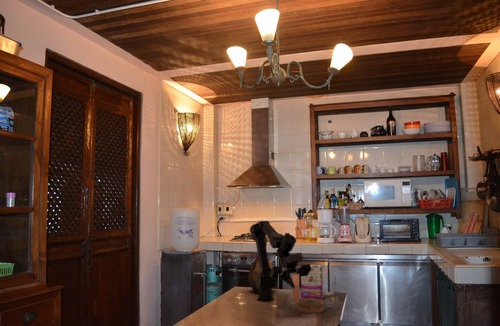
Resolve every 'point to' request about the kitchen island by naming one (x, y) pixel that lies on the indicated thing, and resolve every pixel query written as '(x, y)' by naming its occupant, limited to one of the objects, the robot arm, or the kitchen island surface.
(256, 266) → the ceramic jug
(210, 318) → the kitchen island surface
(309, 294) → the candy bar box
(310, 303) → the wooden bowl
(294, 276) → the dowel
